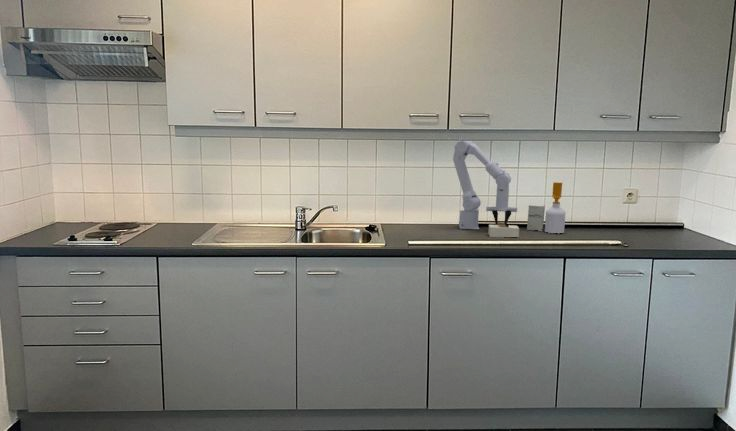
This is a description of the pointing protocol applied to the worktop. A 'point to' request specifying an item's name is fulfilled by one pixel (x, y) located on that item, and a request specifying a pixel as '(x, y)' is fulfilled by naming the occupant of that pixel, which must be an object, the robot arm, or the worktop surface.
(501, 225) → the slat
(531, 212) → the supplement box
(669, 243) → the worktop surface
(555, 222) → the soap bottle
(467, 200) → the robot arm
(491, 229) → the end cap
